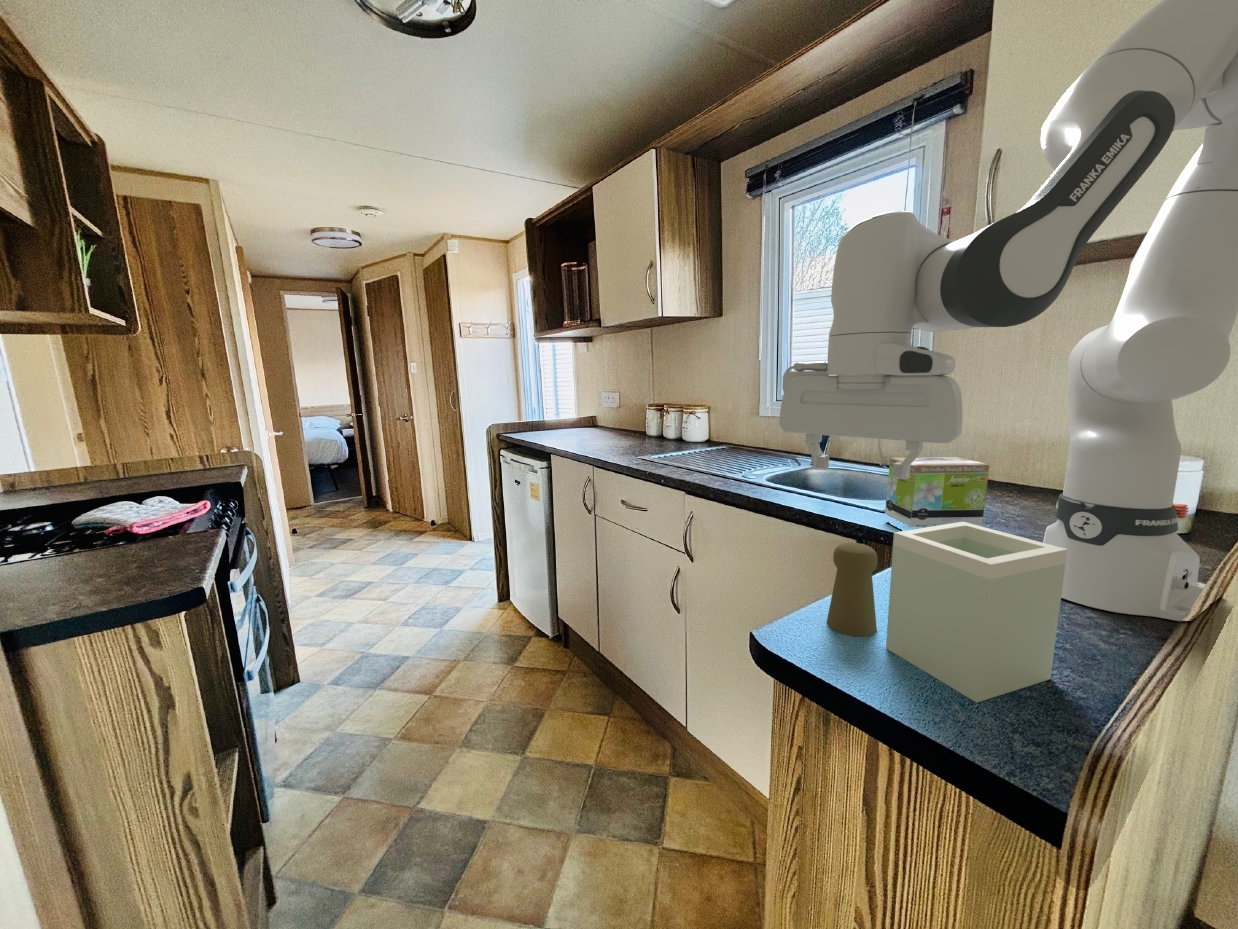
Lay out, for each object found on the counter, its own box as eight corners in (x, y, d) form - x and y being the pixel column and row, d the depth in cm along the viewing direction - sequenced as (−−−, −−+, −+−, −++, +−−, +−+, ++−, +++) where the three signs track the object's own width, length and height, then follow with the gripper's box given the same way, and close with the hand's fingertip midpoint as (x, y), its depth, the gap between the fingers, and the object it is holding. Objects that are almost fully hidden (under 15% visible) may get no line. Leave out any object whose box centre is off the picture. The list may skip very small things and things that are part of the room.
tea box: (910, 536, 101) (915, 464, 98) (883, 522, 111) (887, 456, 108) (983, 534, 101) (991, 462, 99) (950, 520, 111) (956, 454, 109)
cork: (862, 613, 69) (866, 537, 67) (886, 635, 63) (892, 552, 61) (818, 615, 69) (822, 538, 67) (839, 637, 63) (843, 554, 61)
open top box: (952, 631, 64) (963, 521, 61) (1050, 679, 53) (1067, 549, 51) (885, 648, 60) (893, 532, 58) (976, 702, 50) (990, 564, 47)
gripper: (773, 362, 65) (769, 467, 67) (962, 357, 51) (948, 489, 54) (793, 363, 69) (788, 461, 72) (972, 358, 56) (958, 479, 58)
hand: (858, 473), depth 62 cm, fingers open, 8 cm apart
